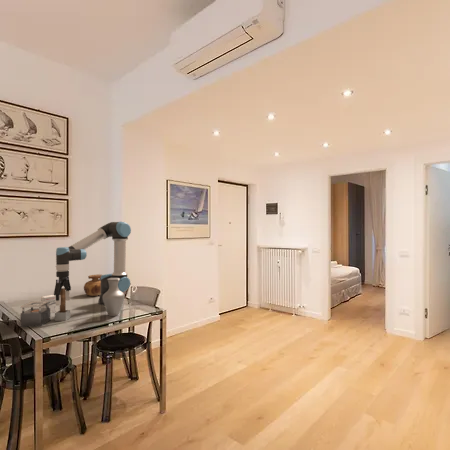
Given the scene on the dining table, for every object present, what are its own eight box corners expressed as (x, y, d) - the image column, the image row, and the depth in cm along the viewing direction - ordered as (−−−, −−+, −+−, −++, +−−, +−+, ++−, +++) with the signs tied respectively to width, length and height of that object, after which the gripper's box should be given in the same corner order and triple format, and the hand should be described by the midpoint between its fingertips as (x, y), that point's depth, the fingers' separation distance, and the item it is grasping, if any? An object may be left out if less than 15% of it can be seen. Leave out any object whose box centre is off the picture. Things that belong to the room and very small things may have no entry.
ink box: (44, 314, 219) (44, 297, 219) (40, 313, 221) (40, 296, 221) (56, 311, 226) (56, 295, 226) (52, 310, 229) (52, 294, 229)
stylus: (66, 318, 210) (66, 288, 210) (64, 319, 206) (64, 289, 206) (61, 318, 209) (61, 288, 210) (58, 319, 206) (58, 289, 206)
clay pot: (94, 295, 267) (88, 272, 271) (82, 301, 276) (76, 279, 281) (113, 291, 283) (107, 269, 287) (101, 296, 292) (95, 276, 297)
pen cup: (70, 317, 212) (70, 309, 212) (65, 320, 205) (65, 312, 205) (59, 317, 211) (59, 310, 211) (54, 320, 204) (54, 313, 204)
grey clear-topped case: (50, 320, 205) (50, 301, 205) (40, 326, 193) (40, 305, 193) (31, 320, 204) (31, 301, 205) (20, 326, 193) (20, 306, 193)
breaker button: (40, 317, 201) (40, 309, 201) (37, 319, 197) (37, 311, 197) (34, 317, 201) (34, 309, 201) (30, 319, 197) (30, 311, 197)
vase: (97, 316, 213) (97, 279, 213) (112, 311, 226) (112, 276, 227) (115, 318, 208) (114, 280, 208) (129, 313, 221) (128, 277, 221)
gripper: (64, 268, 220) (65, 298, 220) (47, 273, 195) (47, 307, 195) (76, 268, 221) (76, 298, 221) (60, 273, 196) (60, 307, 196)
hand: (62, 302), depth 208 cm, fingers open, 13 cm apart
